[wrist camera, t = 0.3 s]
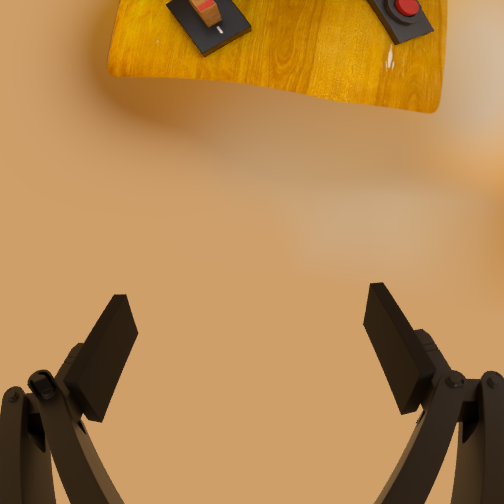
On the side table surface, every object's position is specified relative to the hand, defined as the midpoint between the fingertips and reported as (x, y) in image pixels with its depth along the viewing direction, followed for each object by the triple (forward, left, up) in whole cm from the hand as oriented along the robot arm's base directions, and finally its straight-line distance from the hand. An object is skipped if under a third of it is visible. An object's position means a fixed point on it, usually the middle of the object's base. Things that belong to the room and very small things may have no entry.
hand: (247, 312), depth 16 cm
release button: (-14, +40, -36) cm, 56 cm away
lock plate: (-27, +9, -40) cm, 49 cm away
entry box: (-14, +40, -40) cm, 58 cm away
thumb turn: (-27, +9, -37) cm, 47 cm away
